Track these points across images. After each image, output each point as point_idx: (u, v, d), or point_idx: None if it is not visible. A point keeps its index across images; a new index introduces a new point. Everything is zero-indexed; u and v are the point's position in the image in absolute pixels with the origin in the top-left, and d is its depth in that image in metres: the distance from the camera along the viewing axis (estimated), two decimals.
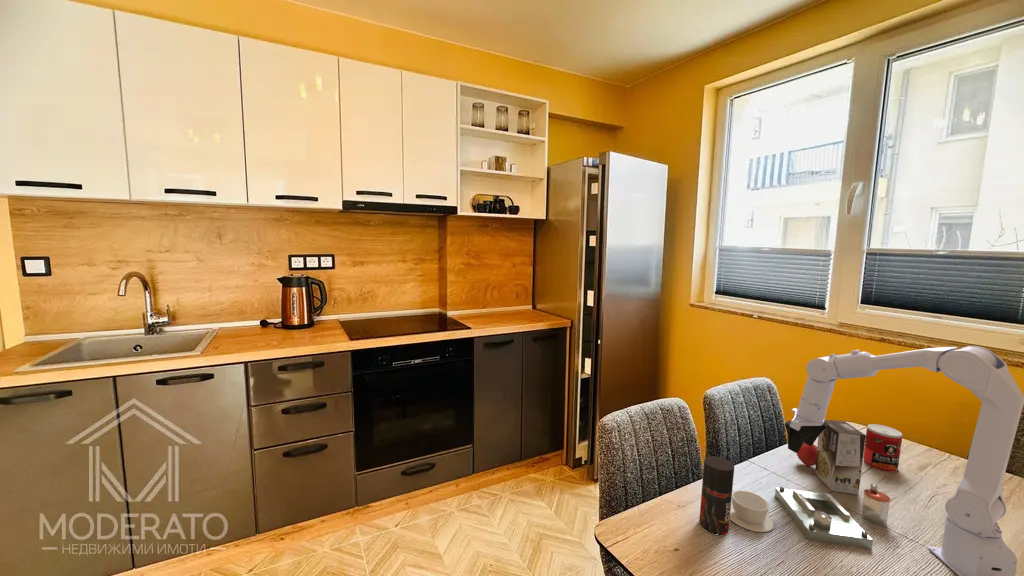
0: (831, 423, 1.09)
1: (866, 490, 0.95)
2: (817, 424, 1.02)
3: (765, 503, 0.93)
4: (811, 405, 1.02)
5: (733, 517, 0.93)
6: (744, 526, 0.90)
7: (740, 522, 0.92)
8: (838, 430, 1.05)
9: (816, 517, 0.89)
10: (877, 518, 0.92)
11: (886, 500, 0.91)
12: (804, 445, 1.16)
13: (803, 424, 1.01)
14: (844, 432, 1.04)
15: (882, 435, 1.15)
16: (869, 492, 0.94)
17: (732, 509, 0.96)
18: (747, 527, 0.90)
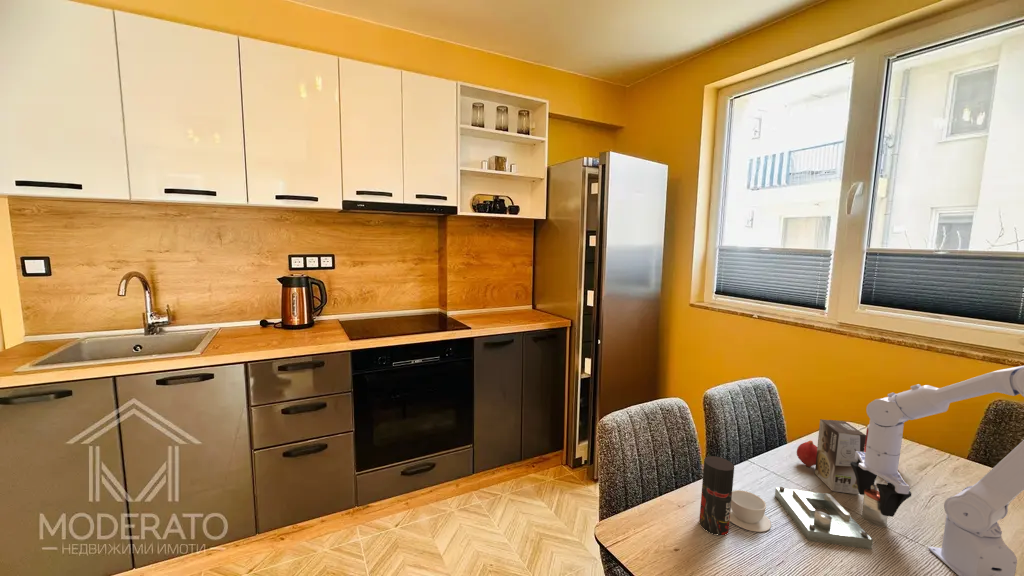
0: (831, 423, 1.09)
1: (866, 490, 0.95)
2: None
3: (762, 503, 0.93)
4: (894, 457, 0.89)
5: (730, 517, 0.93)
6: (742, 526, 0.90)
7: (738, 522, 0.92)
8: (838, 430, 1.05)
9: (816, 517, 0.89)
10: (877, 518, 0.92)
11: None
12: (804, 445, 1.16)
13: None
14: (844, 432, 1.04)
15: None
16: (869, 492, 0.94)
17: None
18: (745, 527, 0.90)
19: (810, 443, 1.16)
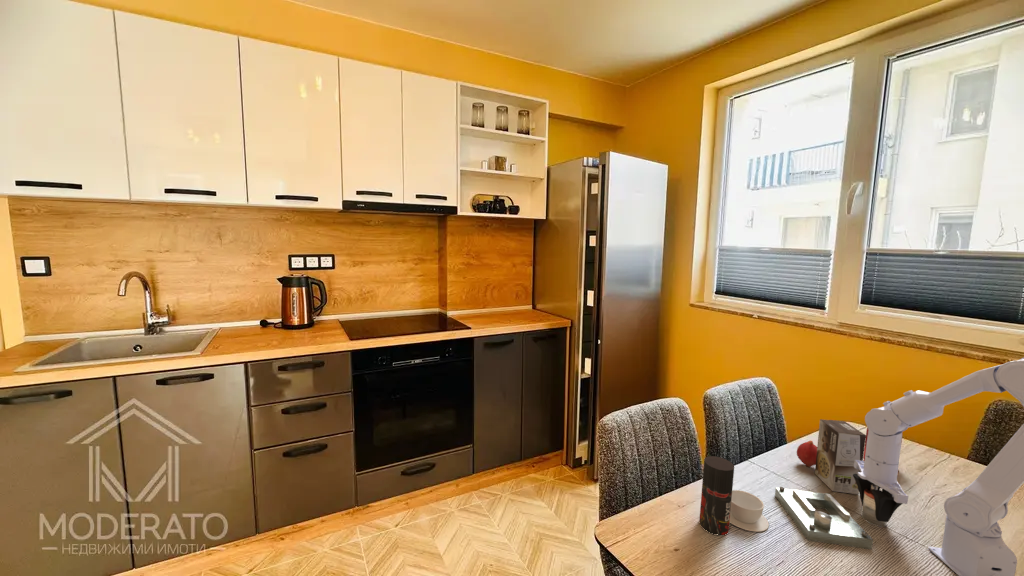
0: (831, 423, 1.09)
1: (866, 490, 0.95)
2: None
3: (760, 503, 0.93)
4: (893, 466, 0.90)
5: None
6: (739, 526, 0.90)
7: (735, 522, 0.92)
8: (838, 430, 1.05)
9: (816, 517, 0.89)
10: None
11: None
12: (804, 445, 1.16)
13: None
14: (844, 432, 1.04)
15: None
16: (869, 492, 0.94)
17: None
18: (742, 527, 0.90)
19: (810, 443, 1.16)
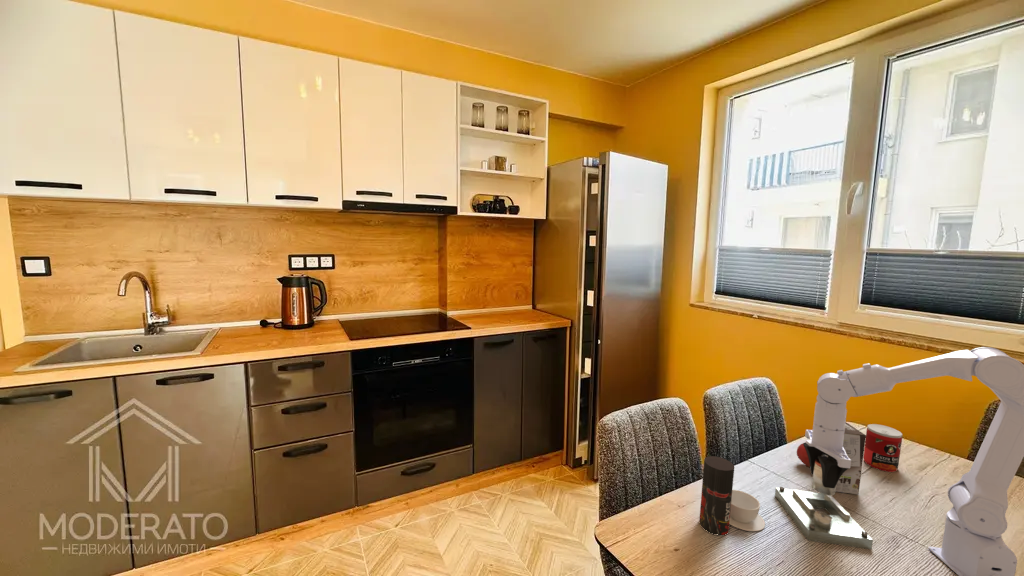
0: None
1: (817, 460, 0.96)
2: None
3: (756, 502, 0.93)
4: (838, 432, 0.90)
5: None
6: (736, 525, 0.90)
7: (732, 522, 0.92)
8: None
9: (816, 517, 0.89)
10: (825, 487, 0.93)
11: None
12: None
13: None
14: (844, 432, 1.04)
15: (882, 435, 1.15)
16: (819, 462, 0.95)
17: None
18: (739, 526, 0.90)
19: None
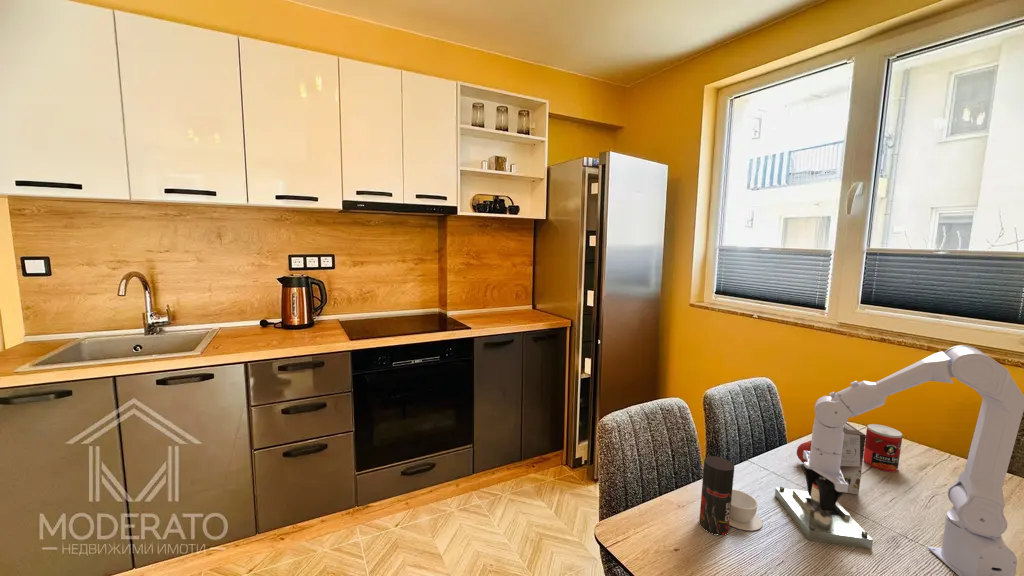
0: None
1: (814, 482, 0.96)
2: None
3: (754, 502, 0.93)
4: (836, 456, 0.91)
5: None
6: (734, 525, 0.91)
7: (730, 521, 0.92)
8: None
9: (816, 517, 0.89)
10: (823, 510, 0.93)
11: None
12: (804, 445, 1.16)
13: None
14: (844, 432, 1.04)
15: (882, 435, 1.15)
16: None
17: None
18: (737, 526, 0.90)
19: (810, 443, 1.16)
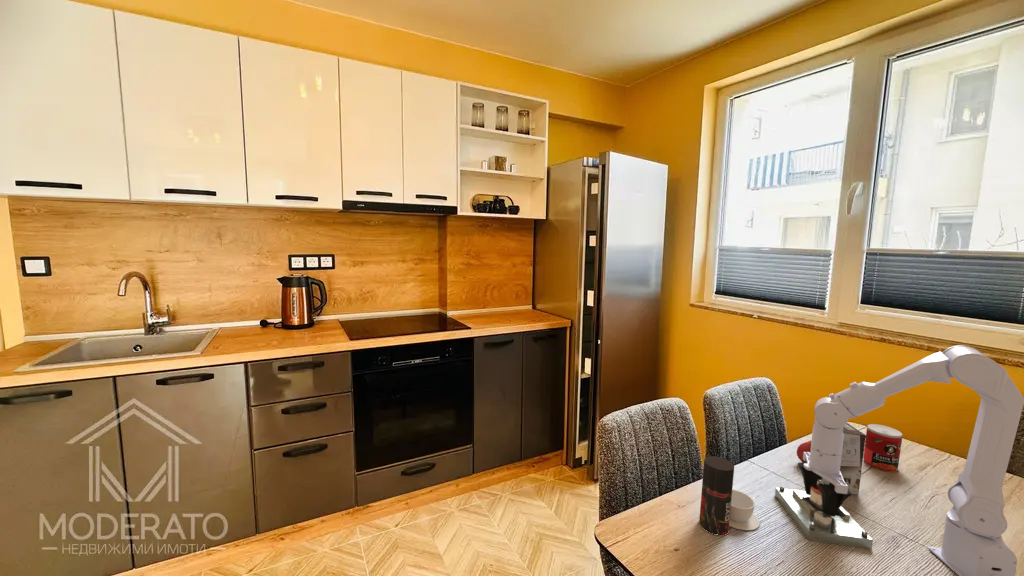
0: None
1: (813, 485, 0.96)
2: None
3: (751, 501, 0.93)
4: (835, 457, 0.91)
5: None
6: (731, 525, 0.91)
7: None
8: None
9: (816, 517, 0.89)
10: None
11: None
12: (804, 445, 1.16)
13: None
14: (844, 432, 1.04)
15: (882, 435, 1.15)
16: (815, 487, 0.96)
17: None
18: (734, 526, 0.90)
19: (810, 443, 1.16)
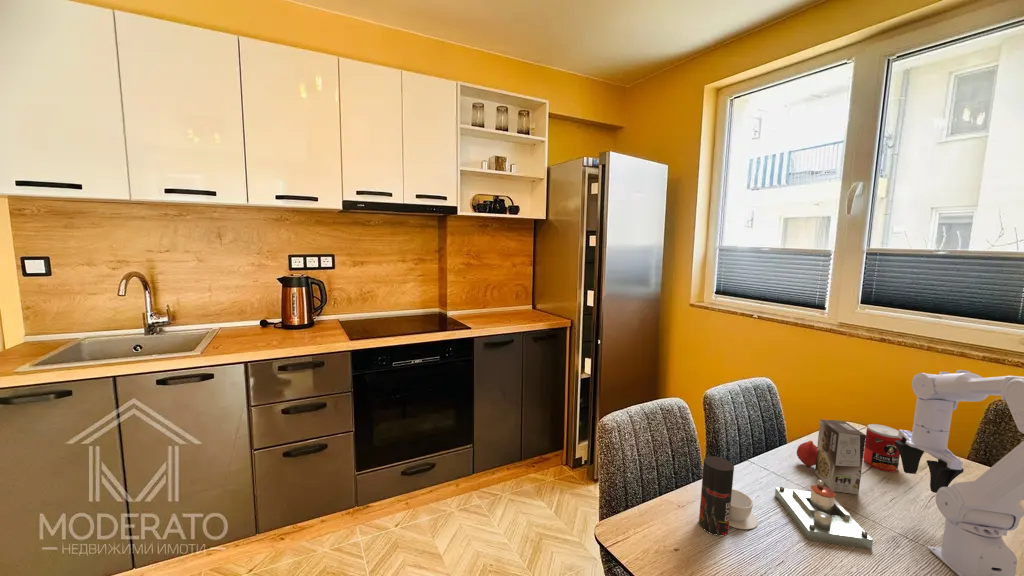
0: (831, 423, 1.09)
1: (813, 486, 0.96)
2: None
3: (749, 500, 0.94)
4: (944, 433, 0.89)
5: None
6: (730, 524, 0.91)
7: None
8: (838, 430, 1.05)
9: (816, 517, 0.89)
10: None
11: (831, 495, 0.93)
12: (804, 445, 1.16)
13: None
14: (844, 432, 1.04)
15: (882, 435, 1.15)
16: (816, 488, 0.95)
17: None
18: (732, 525, 0.91)
19: (810, 443, 1.16)
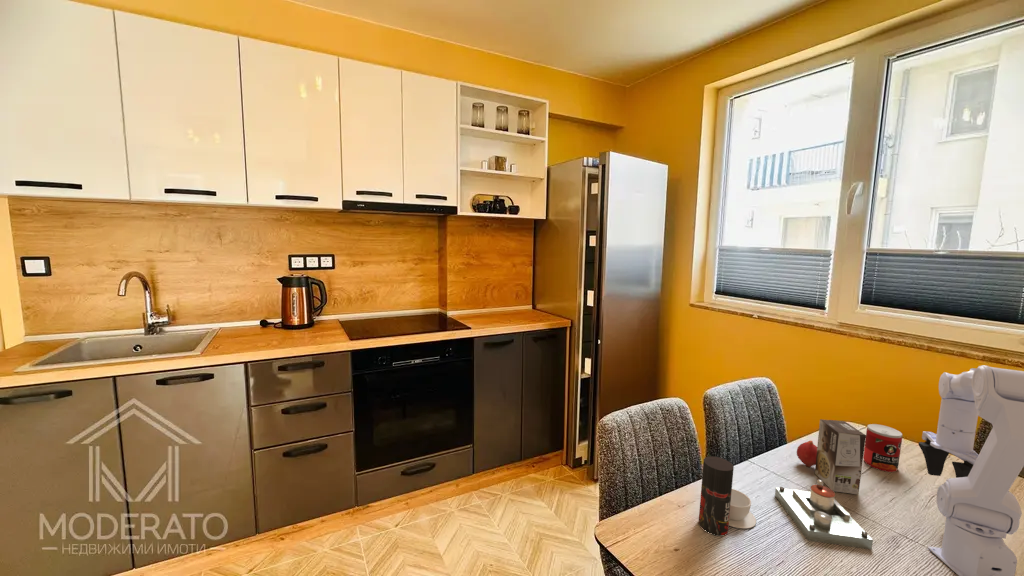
0: (831, 423, 1.09)
1: (813, 486, 0.96)
2: None
3: (747, 499, 0.94)
4: (970, 434, 0.88)
5: None
6: None
7: None
8: (838, 430, 1.05)
9: (816, 517, 0.89)
10: None
11: (831, 495, 0.93)
12: (804, 445, 1.16)
13: None
14: (844, 432, 1.04)
15: (882, 435, 1.15)
16: (815, 488, 0.95)
17: None
18: (731, 524, 0.91)
19: (810, 443, 1.16)
